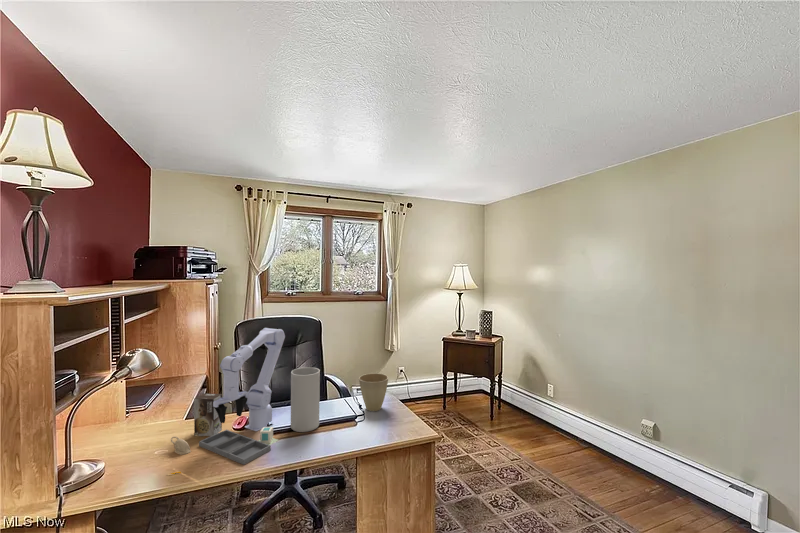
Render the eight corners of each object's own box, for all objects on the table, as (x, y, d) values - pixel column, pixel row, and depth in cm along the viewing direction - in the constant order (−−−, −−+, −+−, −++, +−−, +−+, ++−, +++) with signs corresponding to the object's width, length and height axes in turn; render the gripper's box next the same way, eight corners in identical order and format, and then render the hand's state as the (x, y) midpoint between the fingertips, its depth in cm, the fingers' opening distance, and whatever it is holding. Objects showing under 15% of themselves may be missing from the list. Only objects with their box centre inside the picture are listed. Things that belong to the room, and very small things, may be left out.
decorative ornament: (181, 457, 138) (181, 443, 138) (168, 451, 142) (169, 438, 142) (192, 452, 141) (192, 438, 141) (179, 447, 145) (179, 433, 145)
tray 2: (240, 439, 152) (240, 434, 152) (254, 445, 147) (255, 439, 147) (213, 452, 141) (213, 447, 141) (227, 459, 137) (227, 453, 137)
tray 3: (255, 445, 147) (255, 439, 147) (270, 451, 143) (270, 445, 143) (228, 459, 137) (228, 453, 137) (243, 465, 132) (243, 459, 132)
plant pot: (376, 400, 197) (376, 371, 197) (393, 409, 185) (394, 378, 185) (352, 407, 187) (353, 376, 187) (369, 417, 176) (370, 384, 176)
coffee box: (222, 430, 160) (222, 393, 160) (213, 437, 154) (214, 399, 154) (203, 429, 161) (203, 392, 161) (193, 436, 155) (193, 398, 155)
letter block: (263, 439, 152) (263, 426, 152) (272, 439, 152) (273, 426, 152) (259, 444, 148) (260, 431, 148) (269, 443, 148) (270, 431, 148)
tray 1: (226, 434, 156) (226, 429, 156) (240, 439, 152) (240, 434, 152) (198, 446, 146) (198, 441, 146) (212, 452, 141) (212, 447, 141)
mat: (267, 436, 155) (267, 436, 155) (279, 441, 151) (279, 440, 151) (253, 443, 148) (253, 442, 148) (265, 448, 145) (265, 447, 145)
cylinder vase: (290, 422, 169) (290, 368, 169) (318, 419, 173) (318, 366, 173) (290, 434, 157) (291, 376, 157) (320, 430, 161) (321, 374, 161)
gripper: (240, 379, 158) (239, 410, 158) (208, 389, 146) (208, 423, 146) (251, 382, 155) (250, 414, 155) (219, 392, 142) (219, 427, 142)
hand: (230, 418), depth 150 cm, fingers open, 7 cm apart
